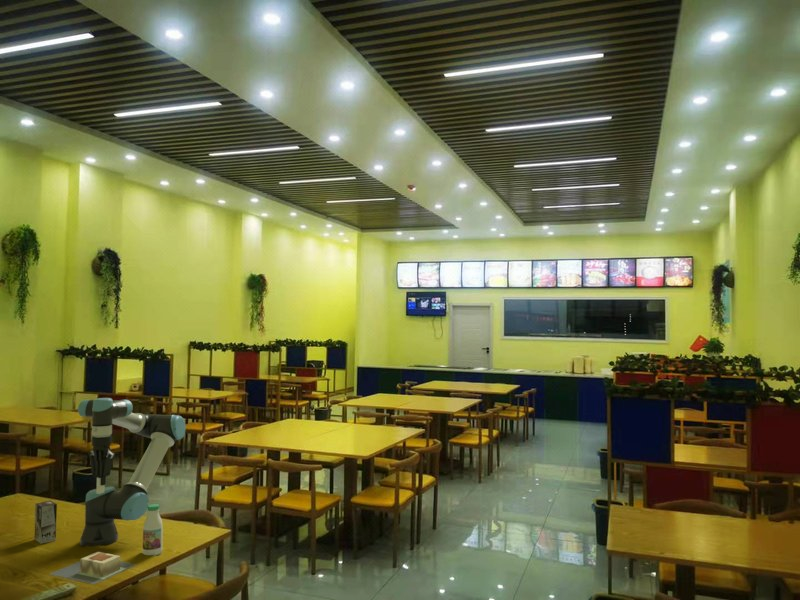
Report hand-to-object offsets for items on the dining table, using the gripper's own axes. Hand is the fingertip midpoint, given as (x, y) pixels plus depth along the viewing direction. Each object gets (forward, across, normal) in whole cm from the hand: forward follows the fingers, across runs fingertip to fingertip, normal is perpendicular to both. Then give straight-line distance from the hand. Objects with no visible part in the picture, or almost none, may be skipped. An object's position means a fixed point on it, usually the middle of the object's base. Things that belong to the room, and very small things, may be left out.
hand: (100, 492), depth 248 cm
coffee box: (+27, -40, +6) cm, 48 cm away
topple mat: (+26, +10, -11) cm, 30 cm away
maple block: (+23, +8, -11) cm, 27 cm away
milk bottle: (+27, +17, +12) cm, 34 cm away
